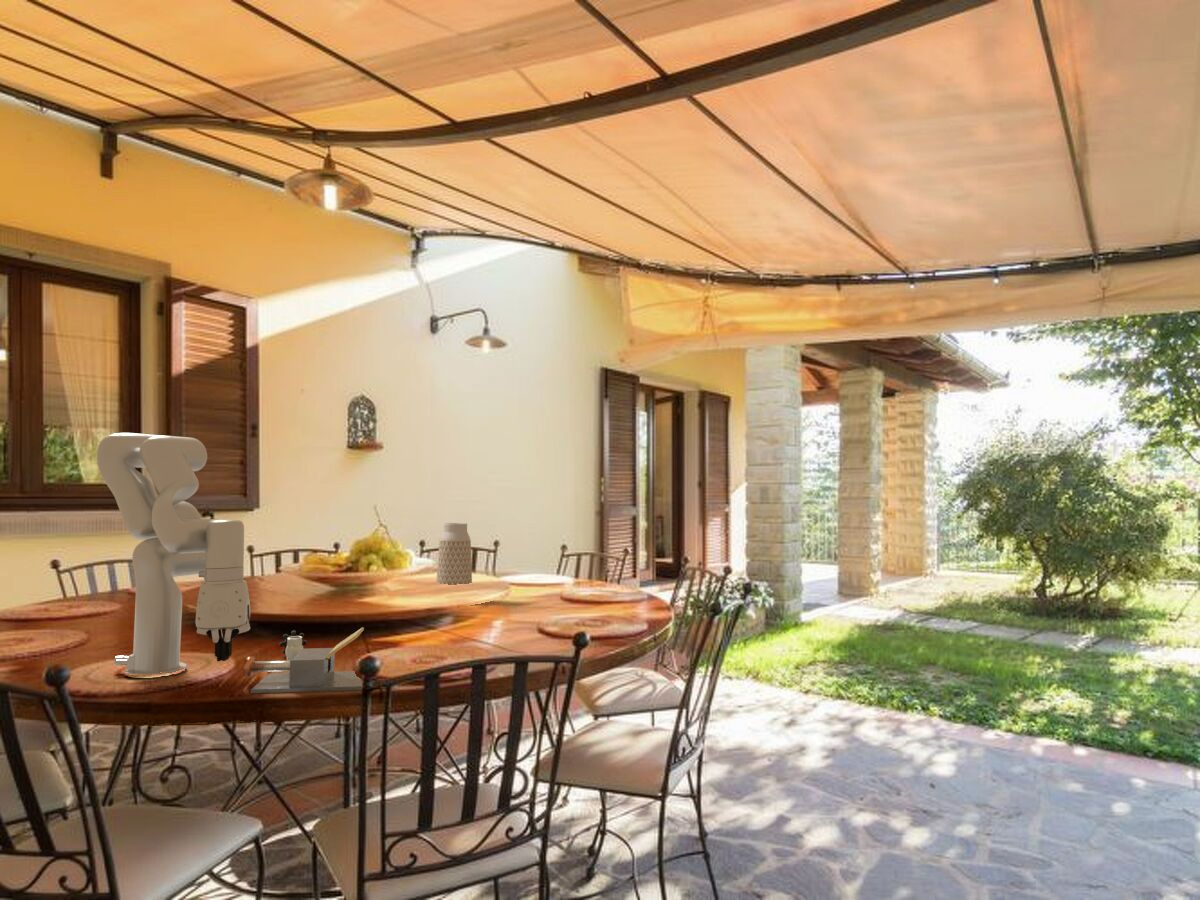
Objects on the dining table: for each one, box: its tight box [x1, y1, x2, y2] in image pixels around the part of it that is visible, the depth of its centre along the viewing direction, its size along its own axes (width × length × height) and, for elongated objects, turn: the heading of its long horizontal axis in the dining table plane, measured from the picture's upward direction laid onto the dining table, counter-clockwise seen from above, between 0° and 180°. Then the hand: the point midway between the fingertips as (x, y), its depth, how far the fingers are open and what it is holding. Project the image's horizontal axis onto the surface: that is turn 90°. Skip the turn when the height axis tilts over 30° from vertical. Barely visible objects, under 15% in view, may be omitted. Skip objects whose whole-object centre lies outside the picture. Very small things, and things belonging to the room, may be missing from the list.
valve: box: [279, 630, 308, 661], centre depth 186 cm, size 7×7×12 cm
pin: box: [243, 655, 290, 678], centre depth 163 cm, size 14×4×4 cm, turn 99°
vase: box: [435, 522, 473, 585], centre depth 287 cm, size 14×14×31 cm
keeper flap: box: [326, 626, 365, 660], centre depth 165 cm, size 8×10×1 cm
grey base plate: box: [250, 647, 363, 694], centre depth 164 cm, size 23×14×6 cm, turn 99°
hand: (223, 659), depth 160 cm, fingers closed
